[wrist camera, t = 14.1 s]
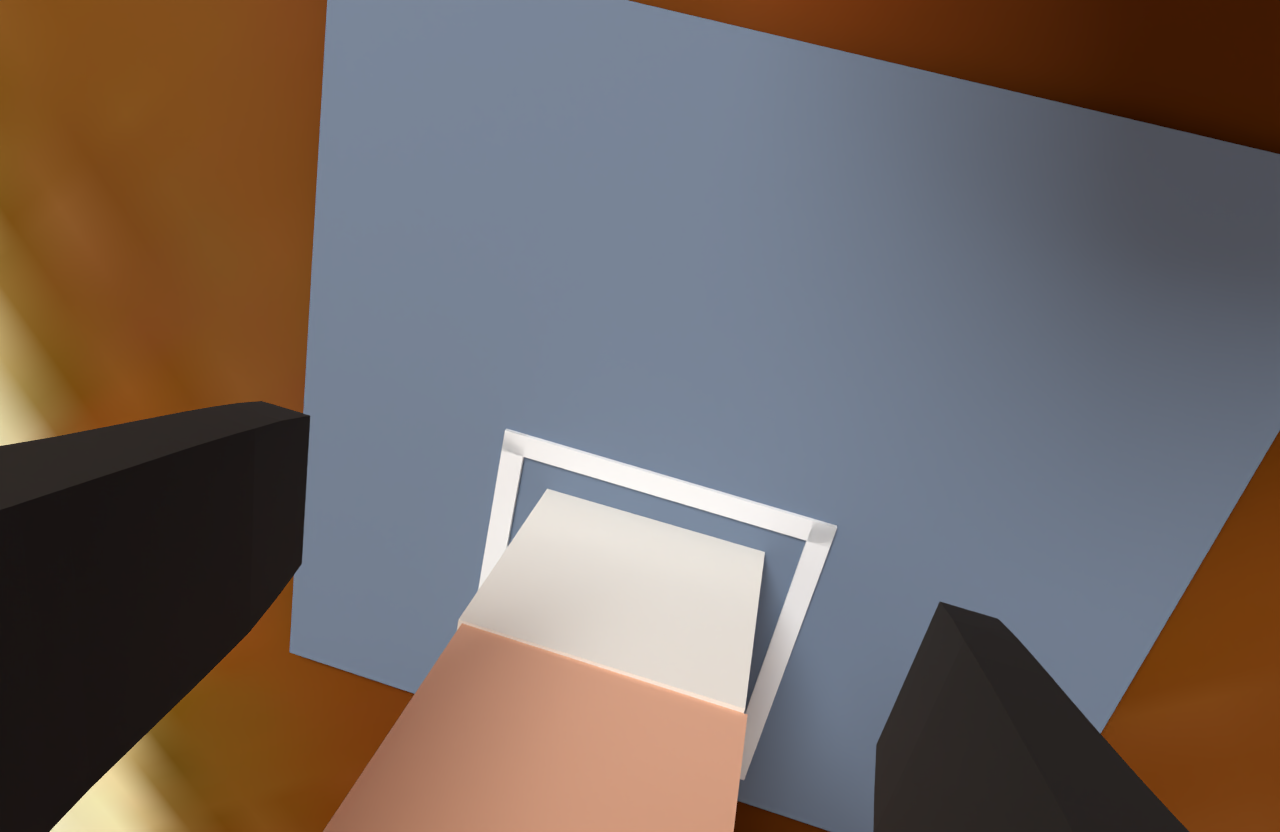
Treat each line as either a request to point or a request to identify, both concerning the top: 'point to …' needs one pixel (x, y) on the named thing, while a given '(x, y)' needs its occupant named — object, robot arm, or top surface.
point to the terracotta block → (546, 751)
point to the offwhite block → (627, 597)
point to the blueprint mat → (771, 349)
